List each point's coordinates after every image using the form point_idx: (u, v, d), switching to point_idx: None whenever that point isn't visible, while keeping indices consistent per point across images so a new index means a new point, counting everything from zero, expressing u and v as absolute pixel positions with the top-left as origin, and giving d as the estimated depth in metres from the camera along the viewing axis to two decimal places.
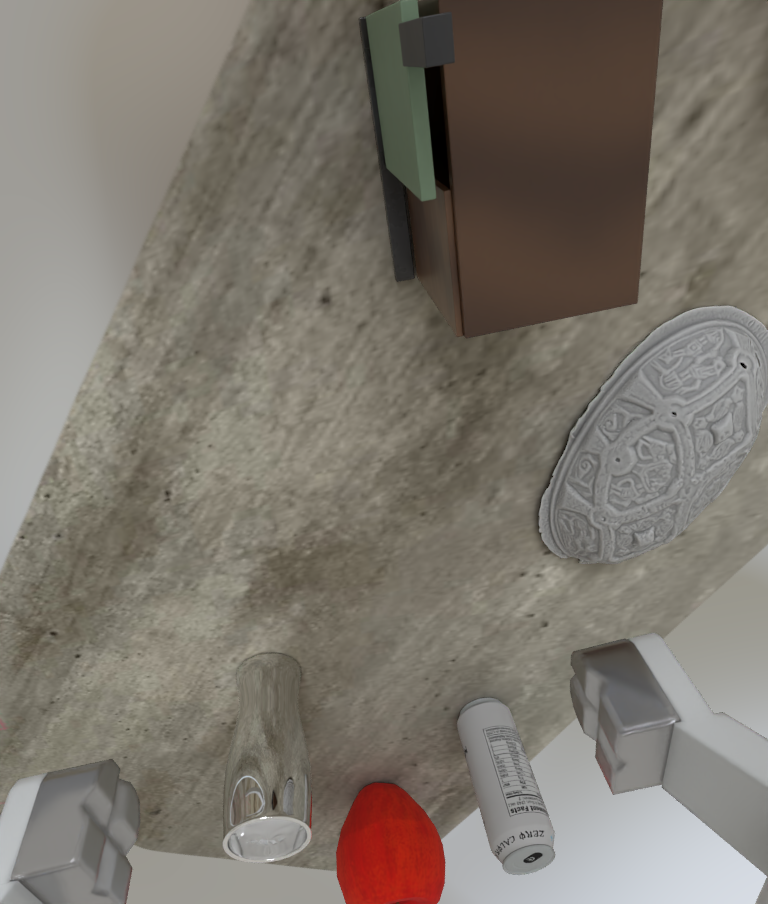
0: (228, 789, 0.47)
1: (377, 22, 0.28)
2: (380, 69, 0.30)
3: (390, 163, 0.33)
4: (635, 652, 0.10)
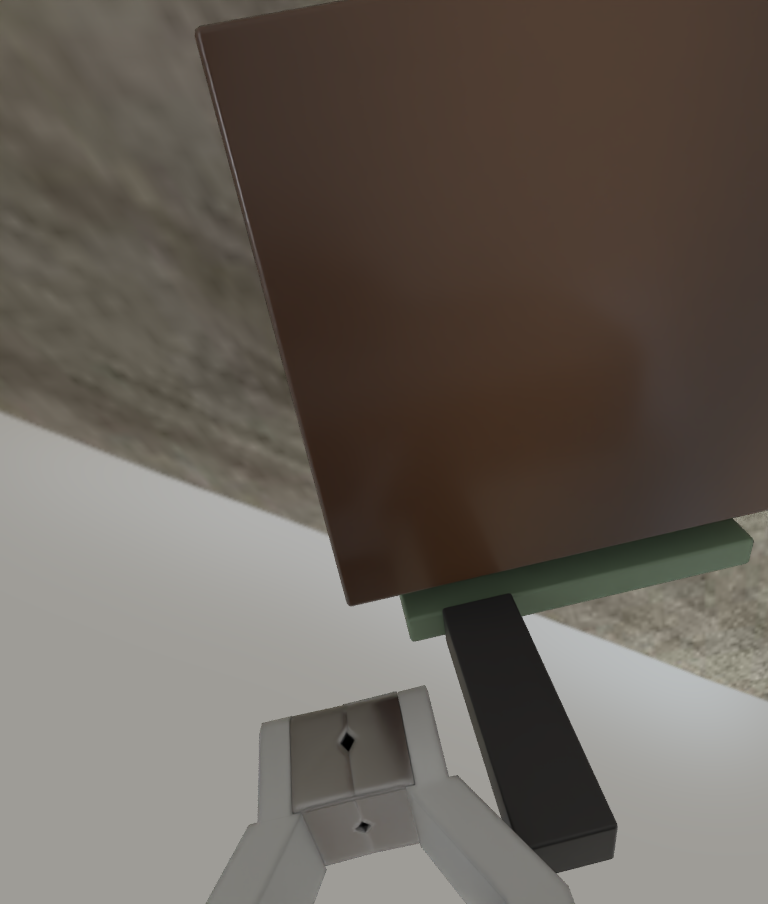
0: None
1: None
2: None
3: None
4: (396, 707, 0.10)
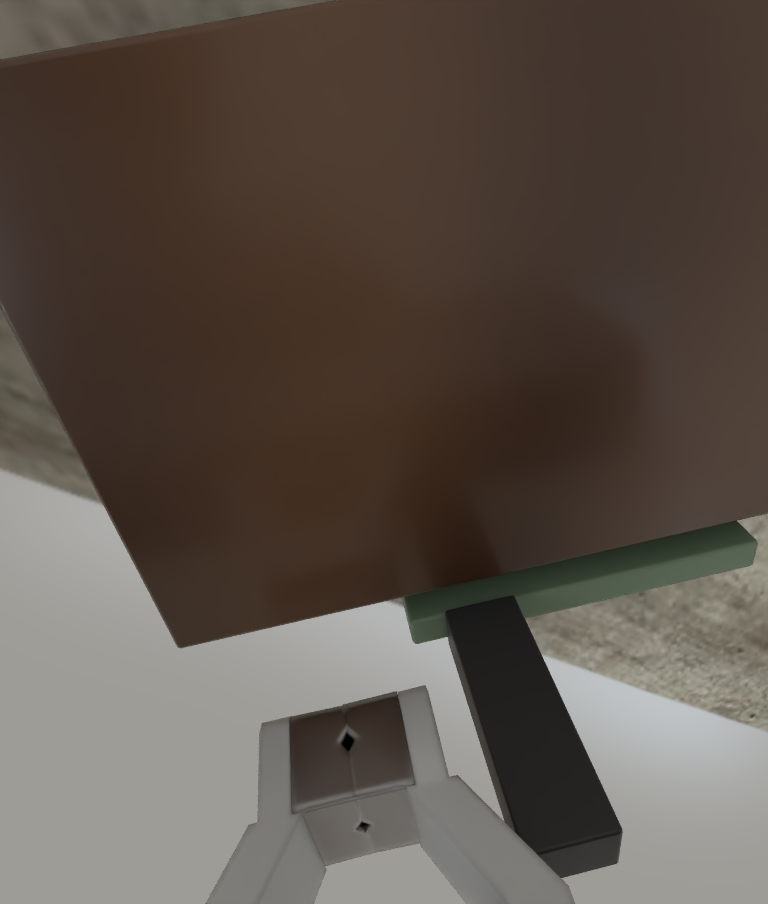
0: None
1: None
2: None
3: None
4: (396, 707, 0.10)
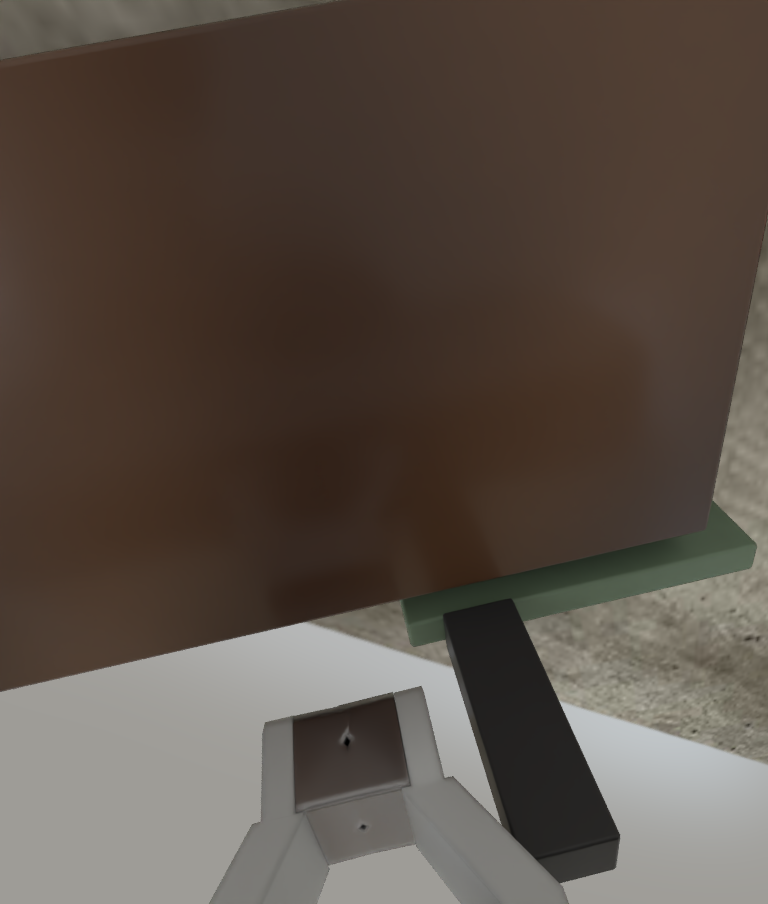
0: None
1: None
2: None
3: None
4: (392, 708, 0.10)
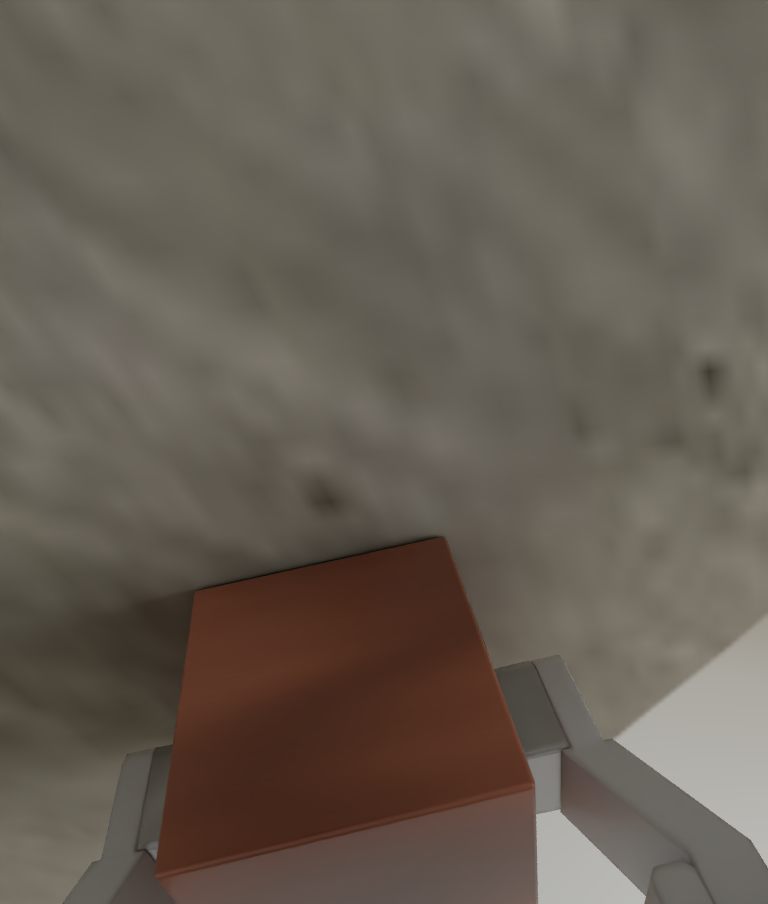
0: None
1: None
2: None
3: None
4: (535, 675, 0.10)
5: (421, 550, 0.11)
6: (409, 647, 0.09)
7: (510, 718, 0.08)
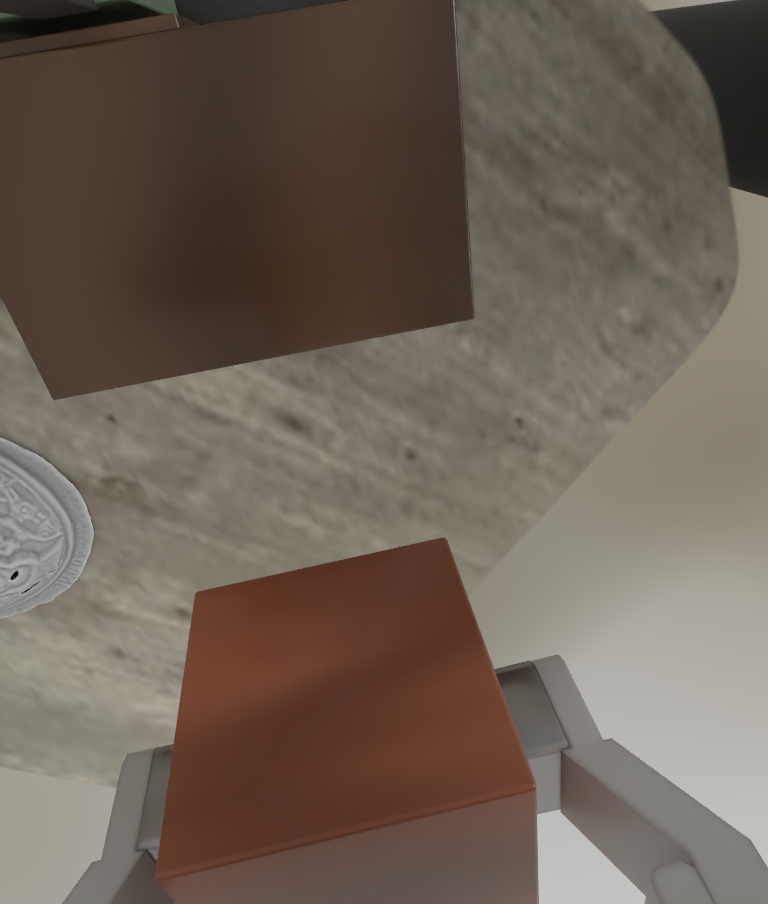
0: None
1: None
2: None
3: None
4: (535, 675, 0.10)
5: (421, 551, 0.11)
6: (410, 648, 0.09)
7: (511, 719, 0.08)
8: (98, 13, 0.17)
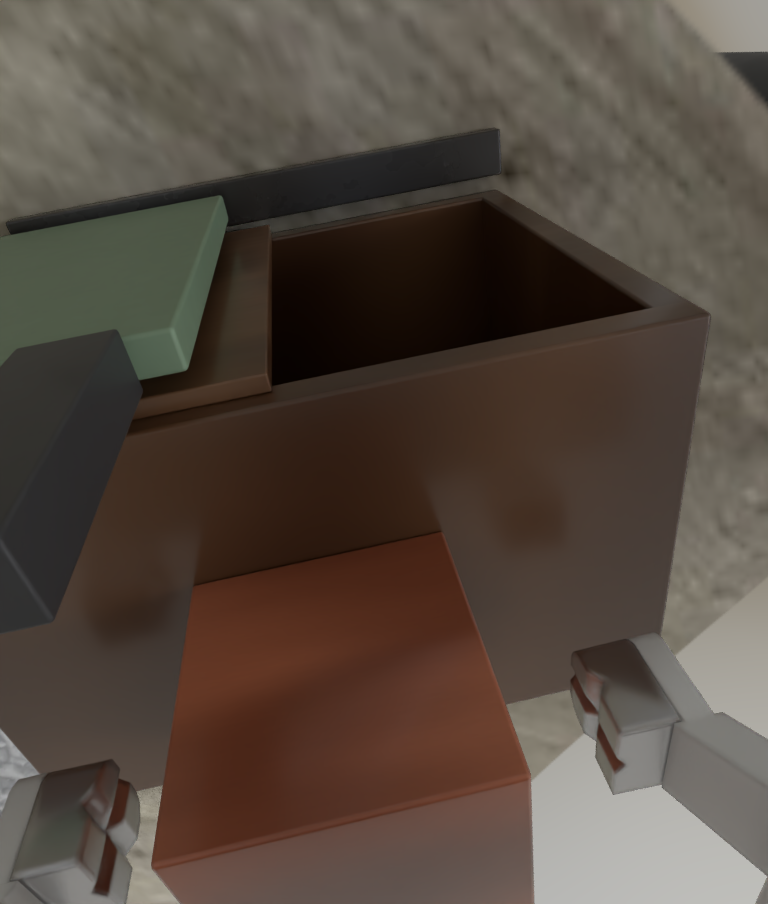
0: None
1: (190, 229, 0.13)
2: (116, 235, 0.14)
3: None
4: (635, 652, 0.10)
5: (418, 545, 0.11)
6: (405, 640, 0.09)
7: (506, 710, 0.08)
8: None
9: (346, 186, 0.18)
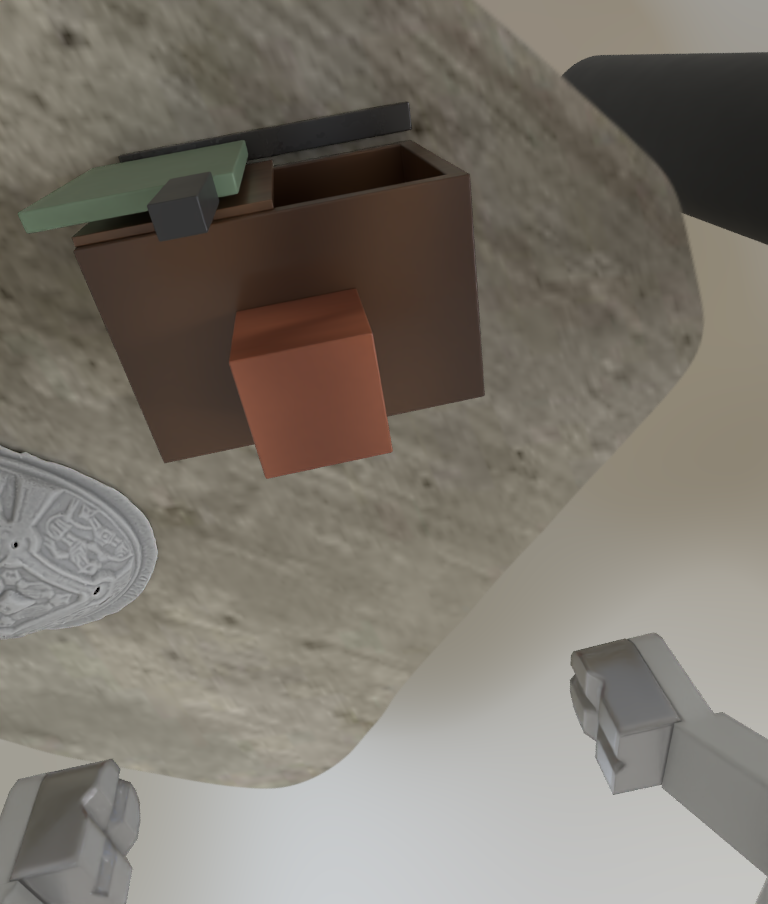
0: None
1: (230, 151, 0.25)
2: (189, 156, 0.26)
3: (92, 172, 0.27)
4: (635, 652, 0.10)
5: (343, 292, 0.23)
6: (332, 313, 0.21)
7: (368, 323, 0.20)
8: None
9: (318, 136, 0.29)
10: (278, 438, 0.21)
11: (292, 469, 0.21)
